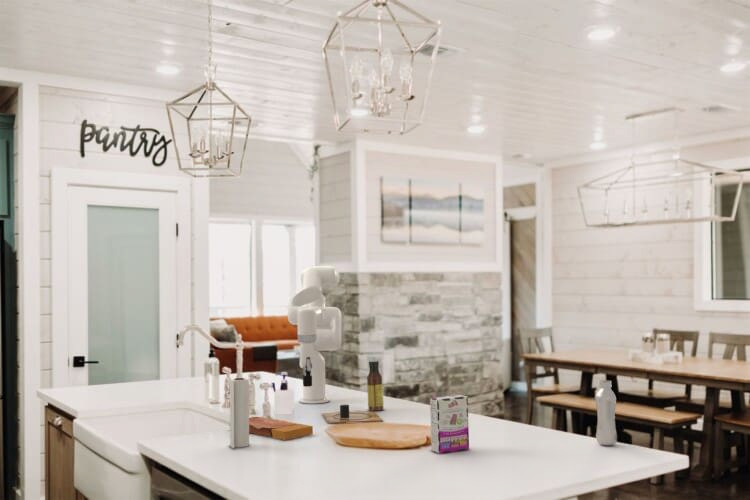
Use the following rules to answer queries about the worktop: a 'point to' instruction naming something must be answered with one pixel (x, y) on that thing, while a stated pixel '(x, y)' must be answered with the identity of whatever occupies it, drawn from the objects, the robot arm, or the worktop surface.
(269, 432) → the brown flat block
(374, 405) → the sauce bottle
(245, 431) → the tall grey block
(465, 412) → the candy bar box
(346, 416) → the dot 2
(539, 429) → the worktop surface
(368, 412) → the board
